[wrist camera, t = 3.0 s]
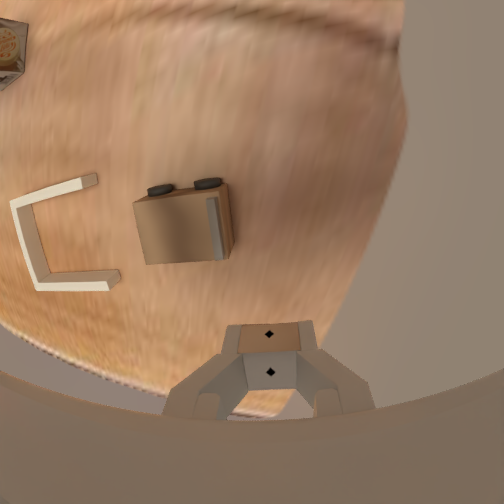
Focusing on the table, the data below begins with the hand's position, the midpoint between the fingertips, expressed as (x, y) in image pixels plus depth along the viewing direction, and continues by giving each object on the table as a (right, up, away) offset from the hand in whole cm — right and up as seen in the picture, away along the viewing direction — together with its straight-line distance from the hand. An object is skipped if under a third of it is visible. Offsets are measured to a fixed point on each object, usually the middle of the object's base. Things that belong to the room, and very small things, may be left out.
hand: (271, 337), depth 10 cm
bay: (-24, +5, +20) cm, 31 cm away
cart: (-7, +7, +18) cm, 20 cm away
